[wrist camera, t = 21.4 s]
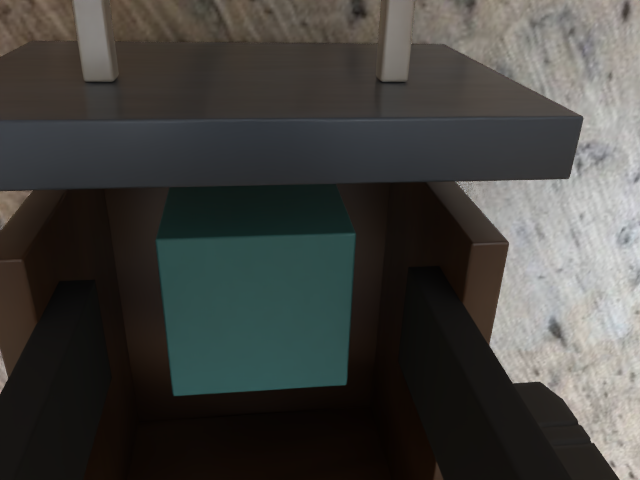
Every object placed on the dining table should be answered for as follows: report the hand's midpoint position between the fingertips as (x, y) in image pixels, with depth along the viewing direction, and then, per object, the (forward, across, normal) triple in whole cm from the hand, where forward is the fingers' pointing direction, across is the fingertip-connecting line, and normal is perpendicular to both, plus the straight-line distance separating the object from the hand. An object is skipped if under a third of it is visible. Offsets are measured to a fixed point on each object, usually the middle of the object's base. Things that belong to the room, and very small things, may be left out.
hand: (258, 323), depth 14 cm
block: (+5, 0, 0) cm, 5 cm away
